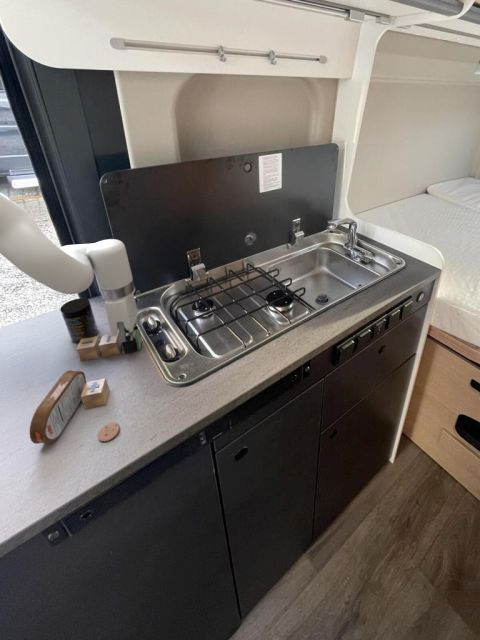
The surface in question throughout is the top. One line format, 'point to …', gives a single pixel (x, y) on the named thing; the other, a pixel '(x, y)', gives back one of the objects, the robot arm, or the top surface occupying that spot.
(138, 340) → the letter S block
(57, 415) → the tin
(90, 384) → the front word
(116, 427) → the cookie
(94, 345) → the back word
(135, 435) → the top surface
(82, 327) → the supplement container
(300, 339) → the top surface
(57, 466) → the top surface
